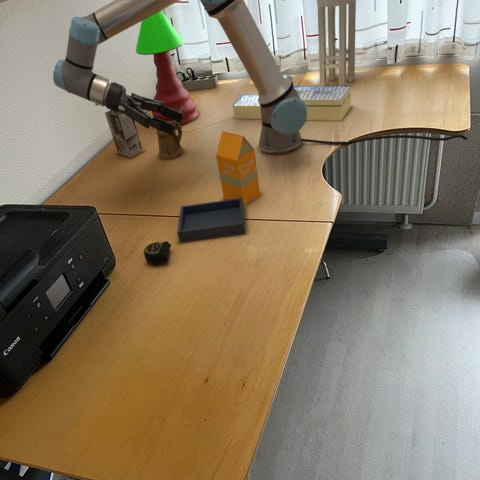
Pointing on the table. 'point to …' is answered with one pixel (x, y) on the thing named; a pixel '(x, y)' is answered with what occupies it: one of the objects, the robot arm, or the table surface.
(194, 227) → the tray
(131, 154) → the coffee box
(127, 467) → the table surface
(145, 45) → the table lamp
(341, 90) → the pale yellow long box
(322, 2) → the stool
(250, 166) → the orange juice
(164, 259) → the tape measure
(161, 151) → the wooden mug
